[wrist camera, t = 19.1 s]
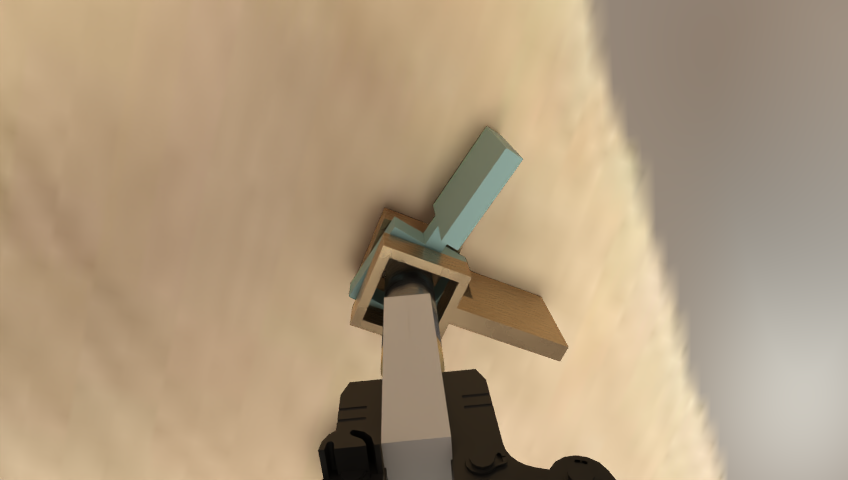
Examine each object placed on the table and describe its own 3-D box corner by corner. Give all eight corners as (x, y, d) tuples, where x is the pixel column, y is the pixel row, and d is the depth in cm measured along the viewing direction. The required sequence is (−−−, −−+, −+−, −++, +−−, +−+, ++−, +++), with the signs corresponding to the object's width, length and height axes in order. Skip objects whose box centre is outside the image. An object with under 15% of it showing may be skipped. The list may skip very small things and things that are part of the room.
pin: (379, 266, 41) (371, 383, 28) (396, 229, 40) (395, 333, 27) (418, 281, 41) (428, 403, 28) (436, 245, 40) (454, 354, 27)
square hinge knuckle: (356, 276, 41) (349, 324, 34) (384, 207, 39) (383, 245, 32) (521, 333, 43) (544, 388, 37) (555, 271, 42) (585, 318, 35)
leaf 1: (418, 305, 42) (424, 355, 35) (352, 269, 40) (345, 315, 34) (527, 153, 38) (554, 179, 31) (458, 107, 36) (472, 125, 30)
